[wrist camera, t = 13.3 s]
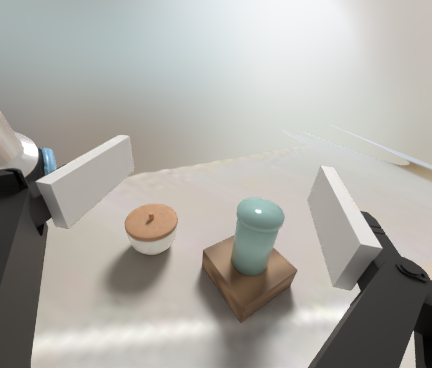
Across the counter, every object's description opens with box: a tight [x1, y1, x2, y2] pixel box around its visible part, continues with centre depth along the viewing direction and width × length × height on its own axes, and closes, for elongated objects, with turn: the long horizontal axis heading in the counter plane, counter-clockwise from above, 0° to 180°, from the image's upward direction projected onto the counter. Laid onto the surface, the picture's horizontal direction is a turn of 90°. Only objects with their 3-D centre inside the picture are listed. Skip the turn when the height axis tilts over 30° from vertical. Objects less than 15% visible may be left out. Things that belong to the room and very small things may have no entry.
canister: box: [231, 198, 284, 276], centre depth 38 cm, size 8×8×12 cm
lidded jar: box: [125, 204, 178, 255], centre depth 46 cm, size 11×11×9 cm
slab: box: [202, 235, 297, 322], centre depth 42 cm, size 13×13×5 cm
